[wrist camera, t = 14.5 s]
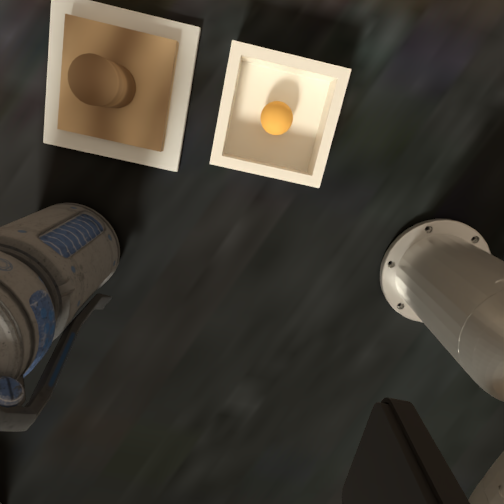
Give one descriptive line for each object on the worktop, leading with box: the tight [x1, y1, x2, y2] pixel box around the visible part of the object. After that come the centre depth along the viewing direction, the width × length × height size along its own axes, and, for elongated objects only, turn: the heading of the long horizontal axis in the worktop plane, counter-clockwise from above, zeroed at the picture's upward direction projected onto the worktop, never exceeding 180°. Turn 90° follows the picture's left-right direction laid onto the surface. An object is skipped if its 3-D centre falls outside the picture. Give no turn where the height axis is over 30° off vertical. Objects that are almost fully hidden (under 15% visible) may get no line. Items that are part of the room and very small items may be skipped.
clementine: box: [260, 101, 293, 135], centre depth 39 cm, size 3×3×3 cm
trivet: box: [43, 0, 201, 172], centre depth 40 cm, size 14×14×1 cm
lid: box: [57, 14, 179, 152], centre depth 36 cm, size 10×10×7 cm
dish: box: [210, 40, 351, 188], centre depth 40 cm, size 11×11×4 cm
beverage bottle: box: [0, 203, 120, 431], centre depth 34 cm, size 10×13×25 cm
